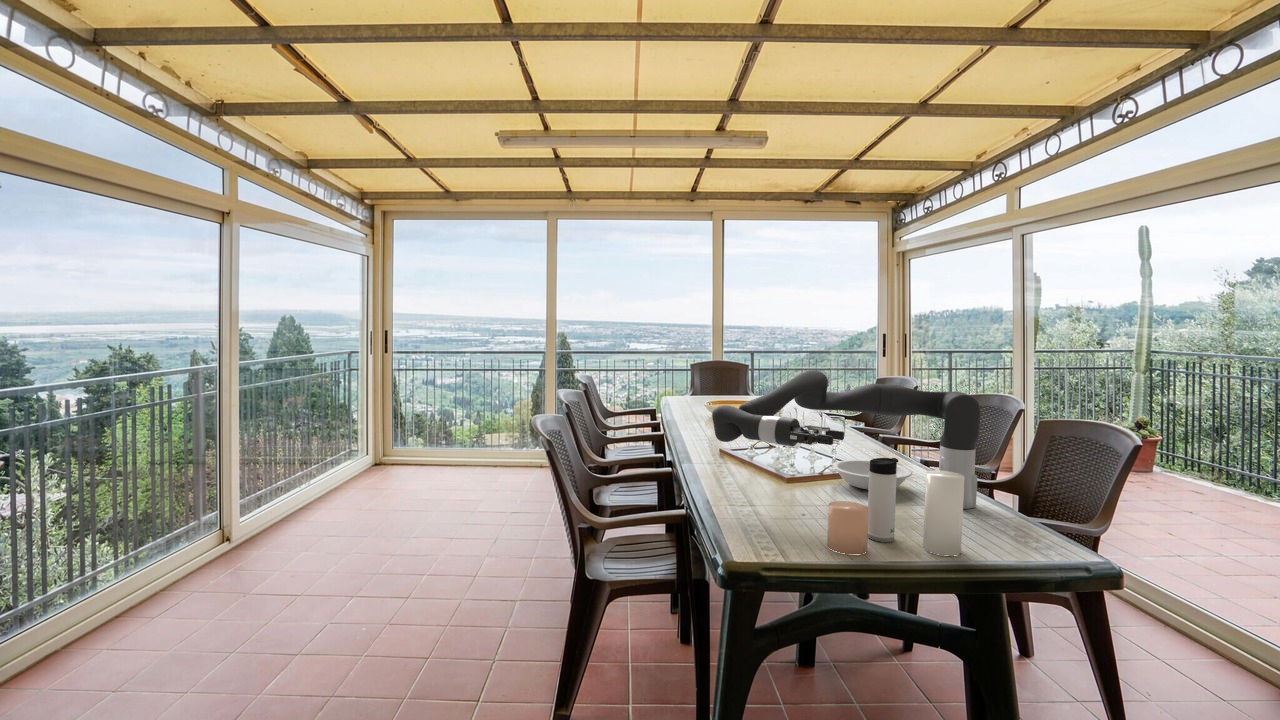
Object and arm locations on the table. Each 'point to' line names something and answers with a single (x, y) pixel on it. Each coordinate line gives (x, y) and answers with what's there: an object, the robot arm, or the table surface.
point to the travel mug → (882, 499)
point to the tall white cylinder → (943, 512)
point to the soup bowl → (864, 472)
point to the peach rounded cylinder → (847, 527)
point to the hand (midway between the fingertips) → (838, 438)
